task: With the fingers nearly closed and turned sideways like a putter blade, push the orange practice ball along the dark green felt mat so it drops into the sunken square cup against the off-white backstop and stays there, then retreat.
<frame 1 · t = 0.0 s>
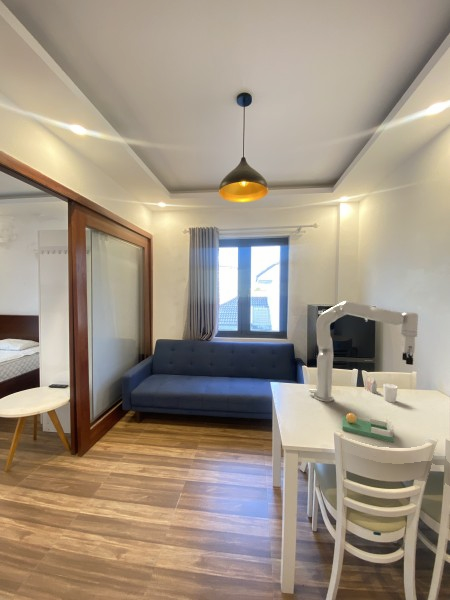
hand: (407, 362, 145), 31 cm above the table, fingers open, 9 cm apart
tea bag: (370, 391, 180), on the table
ball: (351, 418, 131), point 4 cm above the table, touching green
white cup: (389, 400, 165), on the table
green: (365, 429, 128), on the table
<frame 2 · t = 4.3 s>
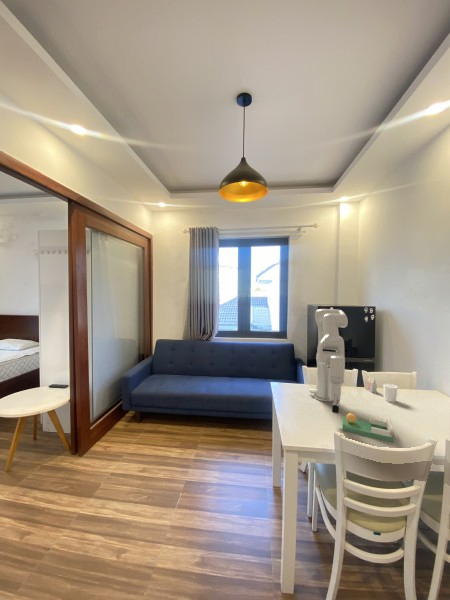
hand: (335, 412, 134), 6 cm above the table, fingers closed
nothing on the table moved.
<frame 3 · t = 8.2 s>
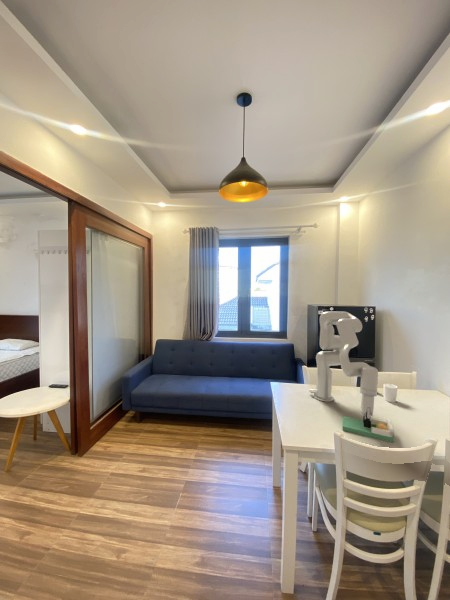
hand: (366, 425, 128), 3 cm above the table, fingers open, 3 cm apart
ball: (381, 429, 125), point 2 cm above the table, tilted 23°
everything else where it was.
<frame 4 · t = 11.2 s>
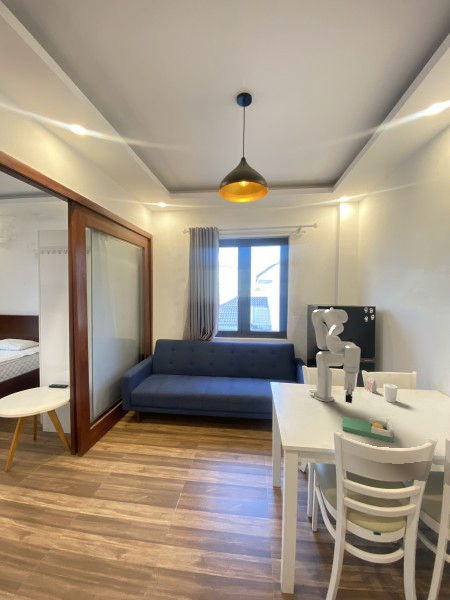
hand: (348, 400, 134), 12 cm above the table, fingers open, 3 cm apart
ball: (377, 428, 126), point 2 cm above the table, tilted 67°
everything else where it was.
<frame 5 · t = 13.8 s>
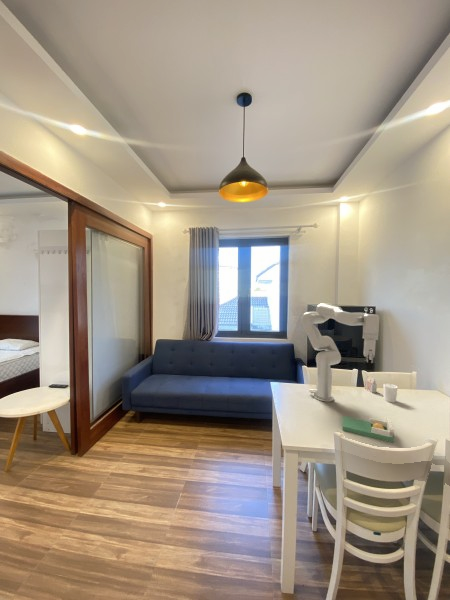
hand: (368, 368, 138), 29 cm above the table, fingers open, 3 cm apart
ball: (378, 428, 126), point 2 cm above the table, tilted 61°
everything else where it was.
at the end: ball 0.9 cm from the target spot on the green, point 2.5 cm above the green's base; the gripper is holding nothing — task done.
